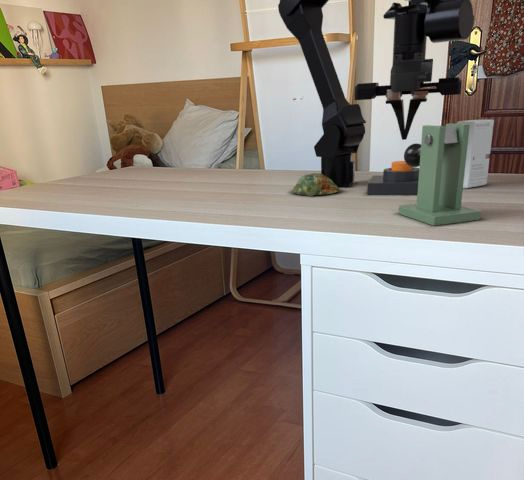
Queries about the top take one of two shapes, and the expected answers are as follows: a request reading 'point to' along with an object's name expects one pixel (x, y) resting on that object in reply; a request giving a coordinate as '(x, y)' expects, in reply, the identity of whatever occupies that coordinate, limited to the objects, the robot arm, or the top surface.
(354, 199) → the top surface
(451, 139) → the lever
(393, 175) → the button box
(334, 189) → the green mottled dome
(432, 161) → the bracket
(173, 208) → the top surface
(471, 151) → the cosmetic box
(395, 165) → the button
